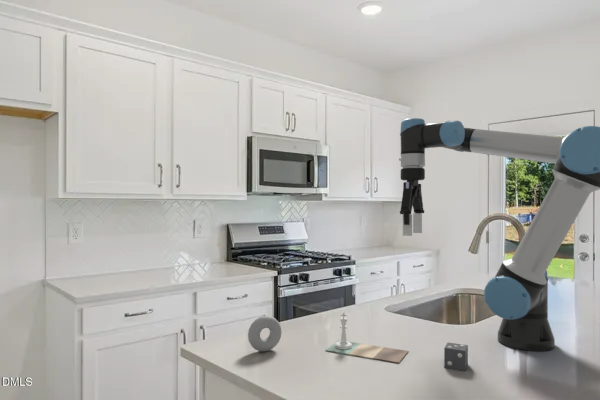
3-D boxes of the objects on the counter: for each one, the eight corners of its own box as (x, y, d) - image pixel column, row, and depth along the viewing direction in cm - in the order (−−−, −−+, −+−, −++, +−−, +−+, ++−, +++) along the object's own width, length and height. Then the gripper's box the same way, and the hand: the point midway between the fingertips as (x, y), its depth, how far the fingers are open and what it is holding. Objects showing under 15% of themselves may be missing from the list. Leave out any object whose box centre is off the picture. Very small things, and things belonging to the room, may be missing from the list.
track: (408, 352, 124) (408, 350, 124) (398, 363, 115) (398, 362, 115) (338, 341, 134) (338, 340, 134) (325, 351, 125) (325, 349, 125)
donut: (250, 356, 121) (250, 319, 121) (246, 352, 124) (246, 316, 124) (283, 350, 126) (283, 315, 126) (278, 346, 129) (278, 312, 129)
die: (467, 364, 115) (467, 344, 115) (465, 371, 110) (465, 350, 110) (447, 361, 117) (447, 342, 117) (444, 367, 112) (444, 347, 112)
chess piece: (351, 350, 125) (351, 314, 125) (334, 348, 126) (334, 313, 126) (353, 344, 130) (352, 310, 130) (336, 343, 131) (336, 309, 131)
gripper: (410, 170, 155) (410, 231, 155) (390, 165, 133) (390, 236, 132) (432, 169, 151) (432, 232, 151) (415, 164, 129) (415, 237, 129)
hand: (412, 234), depth 142 cm, fingers open, 13 cm apart
